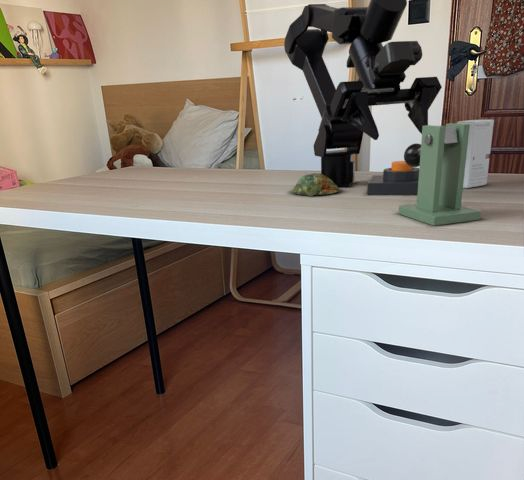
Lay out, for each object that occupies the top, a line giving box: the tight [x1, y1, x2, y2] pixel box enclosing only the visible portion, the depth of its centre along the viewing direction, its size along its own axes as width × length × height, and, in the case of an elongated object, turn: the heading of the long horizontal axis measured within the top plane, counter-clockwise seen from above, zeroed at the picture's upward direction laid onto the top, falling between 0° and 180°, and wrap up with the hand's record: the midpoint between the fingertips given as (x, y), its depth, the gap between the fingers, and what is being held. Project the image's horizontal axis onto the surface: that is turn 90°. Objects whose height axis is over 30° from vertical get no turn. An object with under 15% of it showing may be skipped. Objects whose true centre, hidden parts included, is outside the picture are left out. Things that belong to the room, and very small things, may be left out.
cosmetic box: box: [456, 119, 495, 189], centre depth 103 cm, size 6×4×12 cm
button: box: [390, 160, 412, 171], centre depth 103 cm, size 4×4×2 cm
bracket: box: [398, 122, 482, 227], centre depth 80 cm, size 10×8×13 cm
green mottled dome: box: [291, 173, 340, 197], centre depth 107 cm, size 10×4×10 cm
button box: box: [366, 167, 419, 196], centre depth 104 cm, size 12×10×4 cm
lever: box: [403, 126, 458, 168], centre depth 82 cm, size 11×4×4 cm, turn 18°
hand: (401, 136), depth 88 cm, fingers open, 9 cm apart
